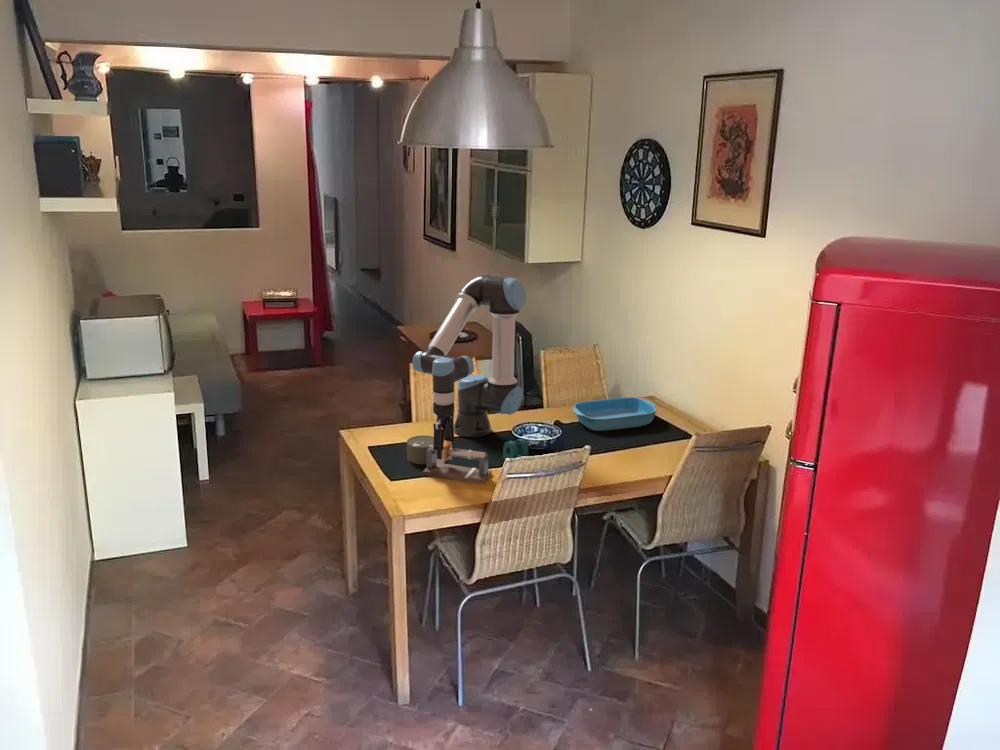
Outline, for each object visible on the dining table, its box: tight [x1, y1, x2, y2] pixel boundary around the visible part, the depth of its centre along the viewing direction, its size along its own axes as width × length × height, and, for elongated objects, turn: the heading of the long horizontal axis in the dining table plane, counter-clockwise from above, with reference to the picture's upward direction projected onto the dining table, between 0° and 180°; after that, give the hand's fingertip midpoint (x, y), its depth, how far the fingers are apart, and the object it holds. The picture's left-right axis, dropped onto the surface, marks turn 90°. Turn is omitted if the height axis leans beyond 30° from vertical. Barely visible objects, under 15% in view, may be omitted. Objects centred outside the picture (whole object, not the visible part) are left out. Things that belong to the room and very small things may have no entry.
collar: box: [443, 439, 452, 463], centre depth 296 cm, size 6×3×6 cm, turn 162°
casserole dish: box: [572, 396, 657, 432], centre depth 350 cm, size 37×22×7 cm, turn 108°
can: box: [406, 435, 434, 465], centre depth 311 cm, size 12×12×7 cm
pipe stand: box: [422, 445, 493, 485], centre depth 296 cm, size 9×23×10 cm, turn 72°
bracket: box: [502, 438, 529, 460], centre depth 306 cm, size 18×7×8 cm, turn 33°
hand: (444, 462), depth 298 cm, fingers open, 6 cm apart
